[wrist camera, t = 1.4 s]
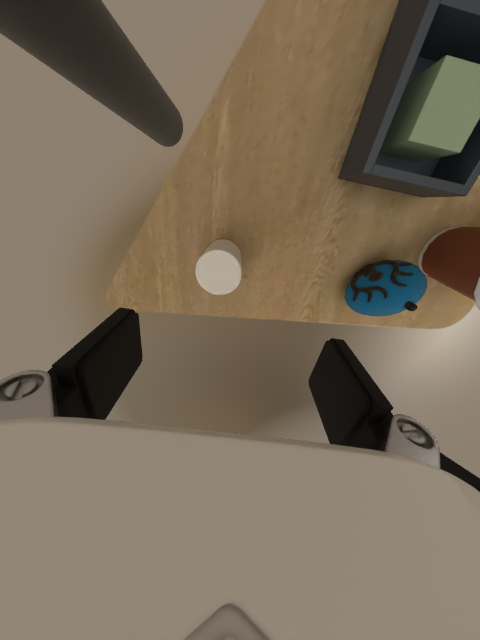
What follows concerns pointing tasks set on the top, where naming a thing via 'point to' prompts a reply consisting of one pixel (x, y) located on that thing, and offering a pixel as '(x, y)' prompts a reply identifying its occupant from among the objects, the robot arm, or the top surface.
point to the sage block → (436, 112)
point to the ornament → (386, 288)
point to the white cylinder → (220, 267)
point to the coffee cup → (454, 260)
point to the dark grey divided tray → (387, 89)
